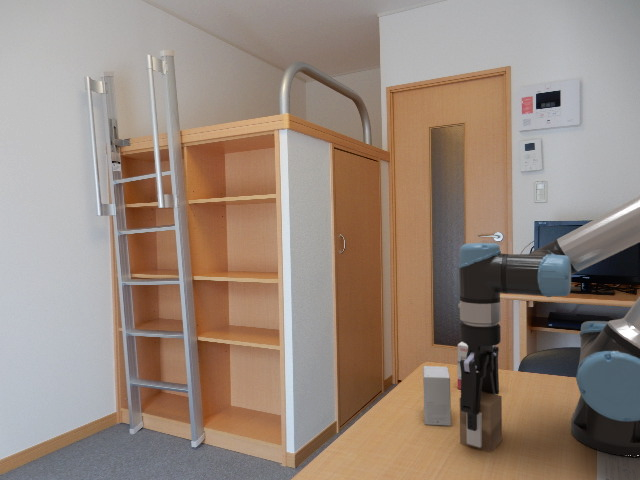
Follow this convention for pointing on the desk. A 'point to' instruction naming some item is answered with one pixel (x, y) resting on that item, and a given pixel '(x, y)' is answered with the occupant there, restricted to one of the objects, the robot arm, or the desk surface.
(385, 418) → the desk surface
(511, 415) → the desk surface
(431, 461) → the desk surface
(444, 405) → the small box
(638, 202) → the robot arm
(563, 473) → the desk surface
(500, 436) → the walnut block
